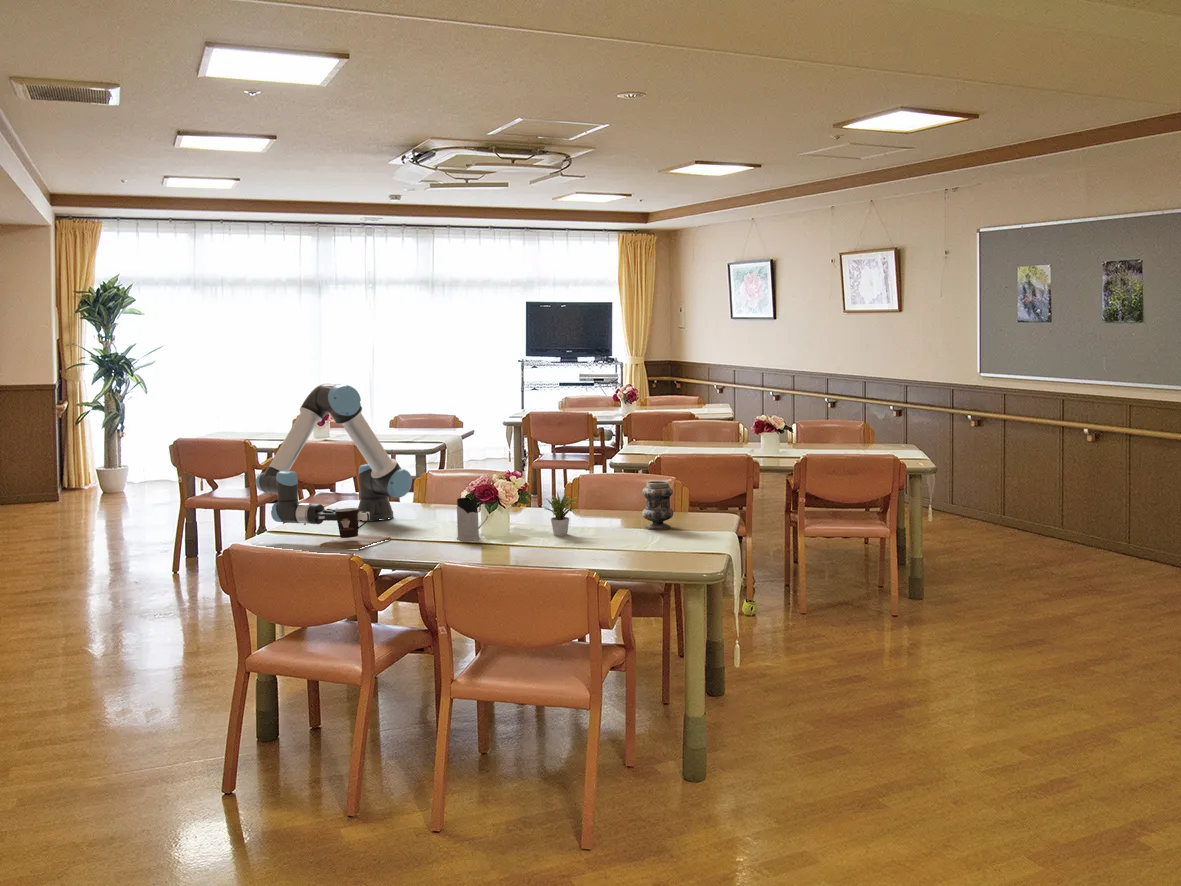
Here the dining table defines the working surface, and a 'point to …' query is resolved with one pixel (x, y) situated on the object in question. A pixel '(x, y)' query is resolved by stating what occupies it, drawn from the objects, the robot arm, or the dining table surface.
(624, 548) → the dining table surface
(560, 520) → the house plant
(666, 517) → the apothecary jar
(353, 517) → the coffee mug
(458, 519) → the gray pitcher
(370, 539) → the spiral notebook
